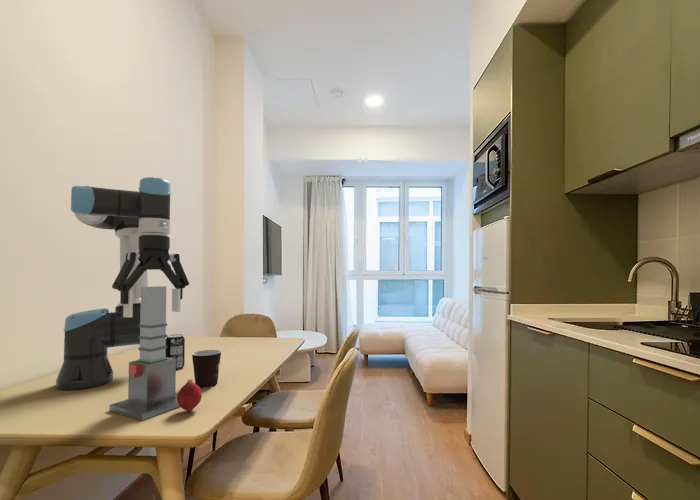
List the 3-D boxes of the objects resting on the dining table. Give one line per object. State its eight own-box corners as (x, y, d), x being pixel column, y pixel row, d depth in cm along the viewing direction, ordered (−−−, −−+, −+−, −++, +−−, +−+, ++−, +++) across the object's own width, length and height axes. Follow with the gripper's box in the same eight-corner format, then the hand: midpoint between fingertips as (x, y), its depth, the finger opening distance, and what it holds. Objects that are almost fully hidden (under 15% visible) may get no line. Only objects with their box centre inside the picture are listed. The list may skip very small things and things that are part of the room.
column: (137, 370, 98) (139, 287, 99) (155, 366, 102) (156, 286, 103) (149, 373, 95) (150, 287, 96) (166, 368, 99) (167, 286, 101)
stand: (109, 410, 95) (110, 363, 96) (160, 394, 107) (160, 352, 108) (141, 420, 88) (142, 369, 89) (192, 402, 101) (192, 357, 101)
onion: (200, 414, 92) (200, 381, 92) (175, 417, 90) (175, 383, 91) (202, 406, 98) (202, 375, 98) (178, 408, 96) (179, 377, 96)
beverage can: (171, 365, 141) (172, 334, 141) (188, 366, 140) (188, 334, 140) (160, 370, 134) (161, 337, 135) (177, 370, 133) (177, 337, 134)
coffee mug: (211, 389, 111) (211, 356, 112) (185, 388, 113) (185, 355, 113) (231, 378, 123) (231, 348, 123) (207, 377, 124) (207, 347, 125)
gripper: (114, 230, 88) (112, 320, 87) (202, 237, 110) (201, 310, 108) (97, 232, 91) (95, 319, 90) (185, 239, 113) (184, 309, 112)
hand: (153, 314), depth 99 cm, fingers open, 13 cm apart
